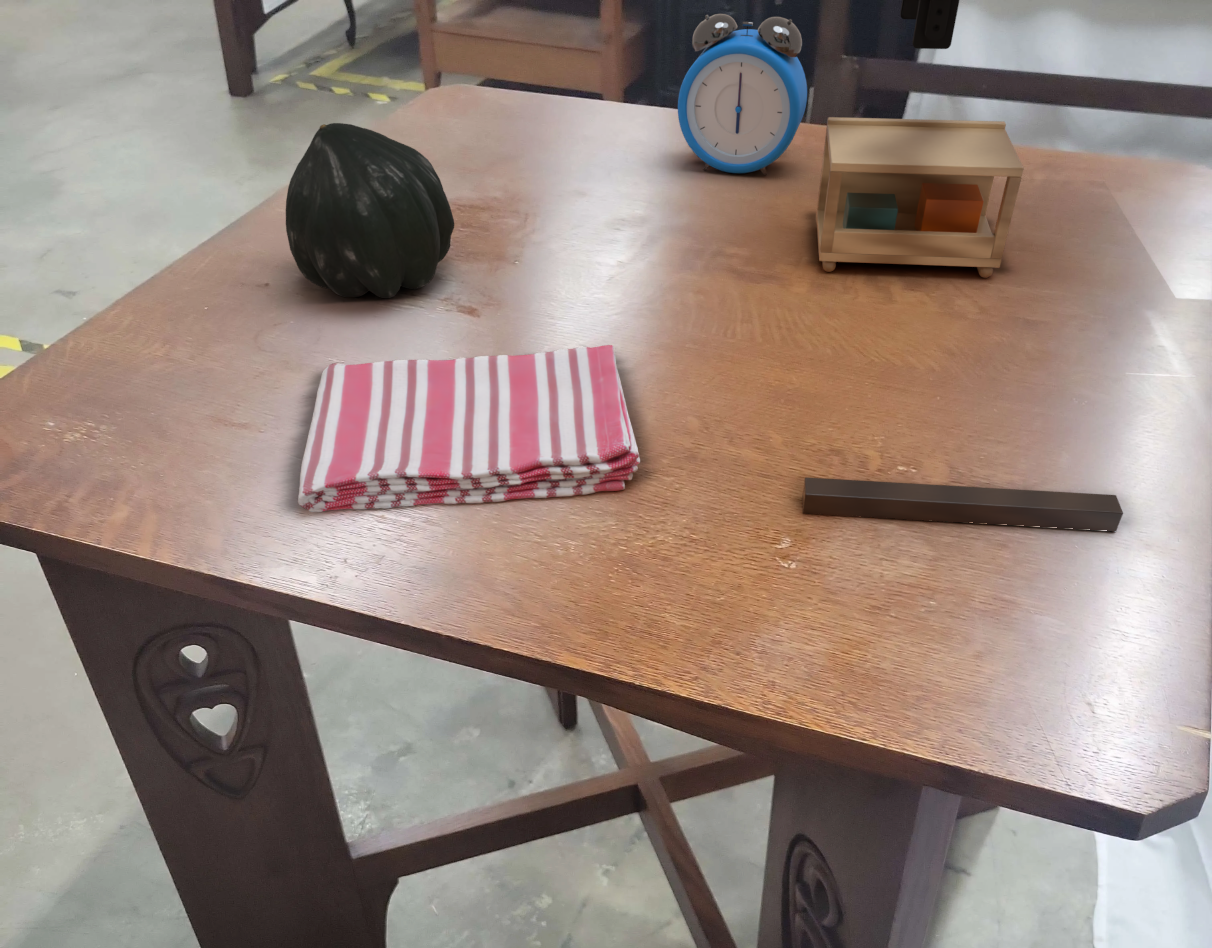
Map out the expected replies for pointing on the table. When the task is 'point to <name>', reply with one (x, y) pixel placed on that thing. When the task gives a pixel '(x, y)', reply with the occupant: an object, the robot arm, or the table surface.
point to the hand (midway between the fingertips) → (923, 32)
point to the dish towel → (468, 431)
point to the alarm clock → (743, 93)
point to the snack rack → (914, 192)
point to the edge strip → (961, 504)
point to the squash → (366, 213)
